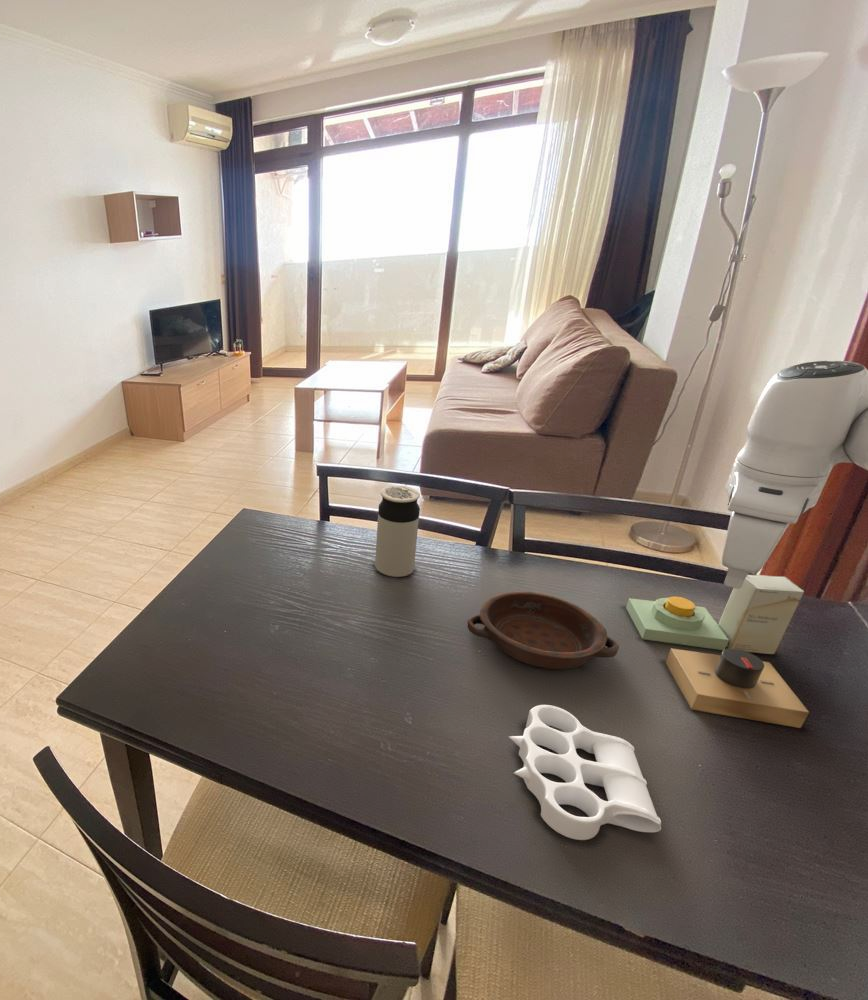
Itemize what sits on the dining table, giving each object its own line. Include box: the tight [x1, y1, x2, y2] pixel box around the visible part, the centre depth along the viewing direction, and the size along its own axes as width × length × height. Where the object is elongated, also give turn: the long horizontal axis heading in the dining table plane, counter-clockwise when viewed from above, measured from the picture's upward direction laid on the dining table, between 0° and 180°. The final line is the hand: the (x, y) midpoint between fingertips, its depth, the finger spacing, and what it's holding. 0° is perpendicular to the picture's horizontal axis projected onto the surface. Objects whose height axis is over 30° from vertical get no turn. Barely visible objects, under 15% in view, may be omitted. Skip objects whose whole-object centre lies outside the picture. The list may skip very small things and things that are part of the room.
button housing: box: [625, 597, 729, 651], centre depth 92 cm, size 11×9×4 cm
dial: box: [715, 648, 764, 688], centre depth 78 cm, size 4×4×4 cm
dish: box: [466, 590, 620, 670], centre depth 91 cm, size 18×22×5 cm
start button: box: [665, 596, 696, 617], centre depth 91 cm, size 4×4×2 cm
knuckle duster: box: [508, 704, 662, 841], centre depth 69 cm, size 3×18×15 cm
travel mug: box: [374, 485, 421, 578], centre depth 113 cm, size 8×8×18 cm
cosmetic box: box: [717, 574, 805, 655], centre depth 86 cm, size 6×4×12 cm
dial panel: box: [665, 648, 810, 729], centre depth 79 cm, size 12×10×3 cm
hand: (737, 571), depth 78 cm, fingers open, 8 cm apart
